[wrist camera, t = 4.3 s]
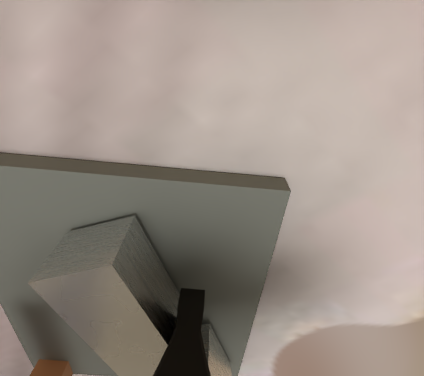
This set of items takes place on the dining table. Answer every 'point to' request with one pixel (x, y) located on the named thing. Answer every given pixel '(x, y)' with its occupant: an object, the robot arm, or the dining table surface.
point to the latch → (118, 297)
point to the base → (156, 233)
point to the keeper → (52, 368)
